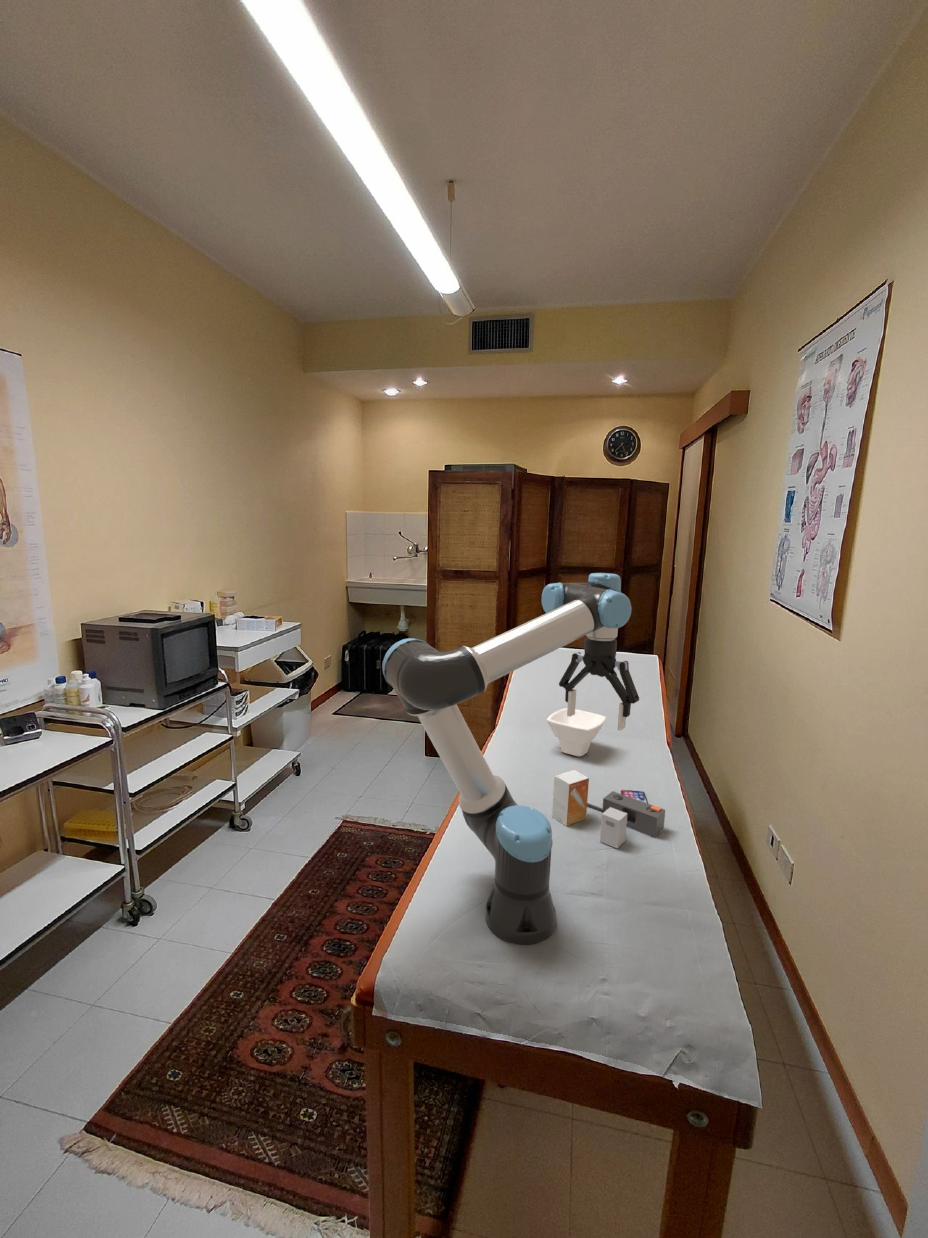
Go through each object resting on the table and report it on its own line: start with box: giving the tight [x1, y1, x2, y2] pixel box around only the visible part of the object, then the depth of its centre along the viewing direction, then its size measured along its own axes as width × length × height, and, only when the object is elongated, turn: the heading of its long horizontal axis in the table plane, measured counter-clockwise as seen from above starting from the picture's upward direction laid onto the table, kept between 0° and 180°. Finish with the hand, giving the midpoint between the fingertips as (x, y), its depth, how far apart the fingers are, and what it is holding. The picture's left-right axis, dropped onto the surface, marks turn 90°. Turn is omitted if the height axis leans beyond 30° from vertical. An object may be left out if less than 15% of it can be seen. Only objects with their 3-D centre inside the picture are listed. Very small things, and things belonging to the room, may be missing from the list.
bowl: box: [546, 707, 607, 757], centre depth 204 cm, size 19×19×14 cm
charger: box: [599, 807, 627, 849], centre depth 148 cm, size 9×5×8 cm, turn 140°
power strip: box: [587, 790, 666, 839], centre depth 159 cm, size 6×24×7 cm, turn 50°
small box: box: [551, 769, 590, 827], centre depth 158 cm, size 8×6×13 cm
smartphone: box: [620, 789, 649, 804], centre depth 168 cm, size 8×1×15 cm
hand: (595, 721), depth 134 cm, fingers open, 13 cm apart
